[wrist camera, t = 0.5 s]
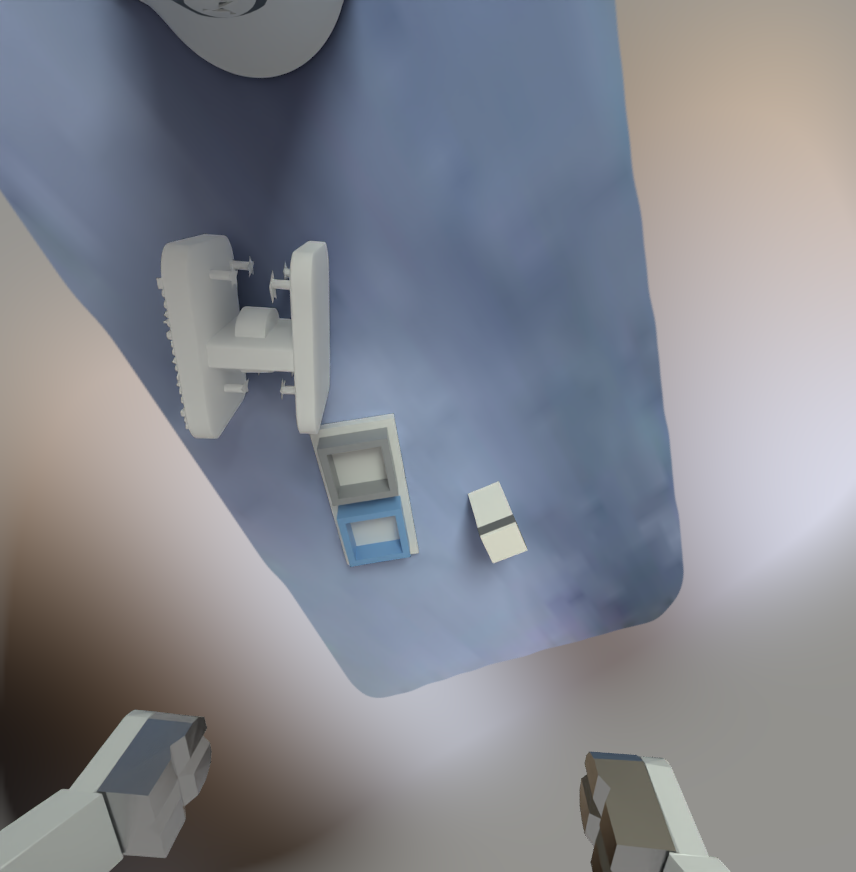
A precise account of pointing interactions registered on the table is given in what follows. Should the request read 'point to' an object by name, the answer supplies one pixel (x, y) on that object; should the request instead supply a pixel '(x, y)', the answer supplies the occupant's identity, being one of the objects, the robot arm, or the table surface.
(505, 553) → the plug
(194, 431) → the cable organizer
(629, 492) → the table surface
